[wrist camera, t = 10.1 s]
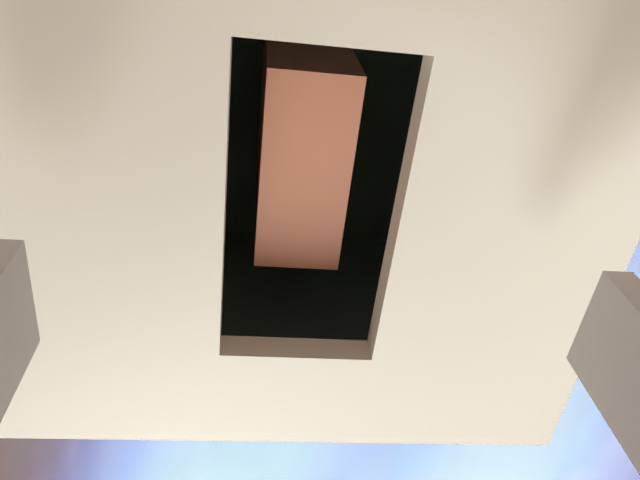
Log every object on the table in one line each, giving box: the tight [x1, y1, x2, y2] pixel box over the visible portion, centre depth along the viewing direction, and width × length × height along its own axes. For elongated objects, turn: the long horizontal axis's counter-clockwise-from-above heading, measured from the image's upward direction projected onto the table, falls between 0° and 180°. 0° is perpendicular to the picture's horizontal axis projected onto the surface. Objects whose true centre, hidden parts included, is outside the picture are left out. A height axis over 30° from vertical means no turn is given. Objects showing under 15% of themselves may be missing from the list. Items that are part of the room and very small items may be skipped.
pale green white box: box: [0, 0, 640, 445], centre depth 23 cm, size 20×18×14 cm
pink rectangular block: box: [254, 40, 367, 270], centre depth 24 cm, size 3×7×10 cm, turn 174°
